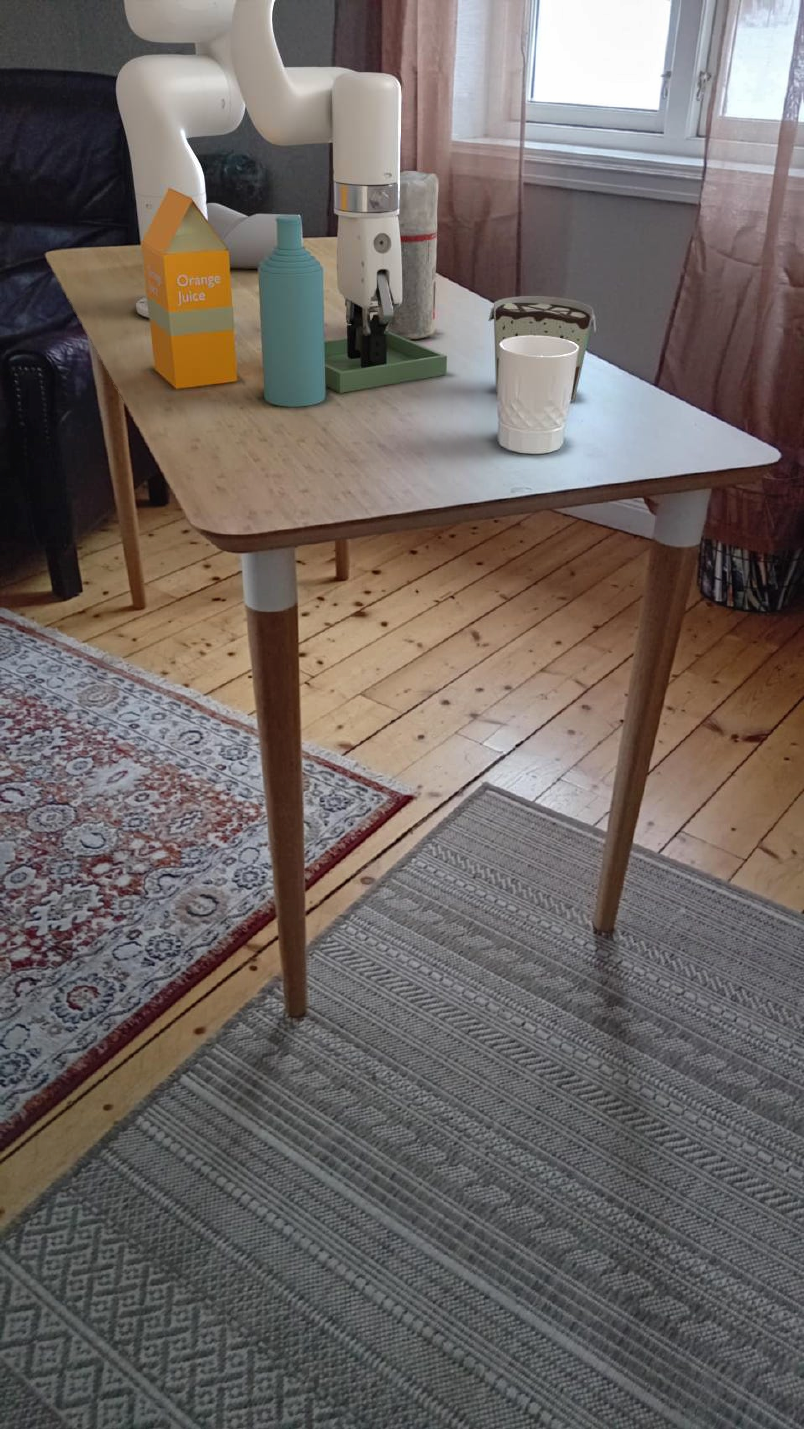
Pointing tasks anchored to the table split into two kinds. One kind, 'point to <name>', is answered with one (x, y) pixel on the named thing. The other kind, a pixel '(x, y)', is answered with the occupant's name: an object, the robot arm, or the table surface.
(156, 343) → the orange juice
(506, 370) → the white cup
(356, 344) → the cap
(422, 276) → the spray can
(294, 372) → the bottle
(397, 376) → the tray
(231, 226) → the bent grey cylinder
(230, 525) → the table surface
